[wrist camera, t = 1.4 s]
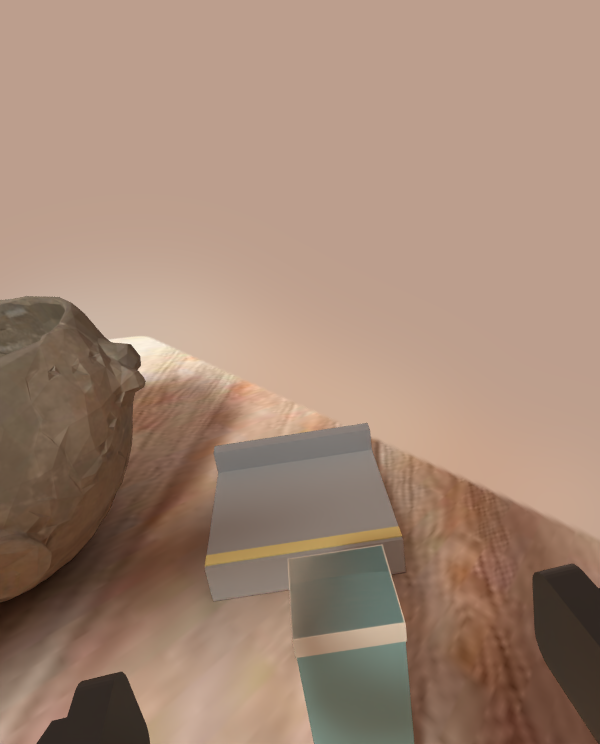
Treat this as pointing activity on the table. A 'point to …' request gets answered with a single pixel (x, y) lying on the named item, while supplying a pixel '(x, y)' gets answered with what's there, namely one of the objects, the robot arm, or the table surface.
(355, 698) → the teal tall block
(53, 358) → the bowl
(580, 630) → the robot arm
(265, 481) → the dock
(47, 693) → the table surface
